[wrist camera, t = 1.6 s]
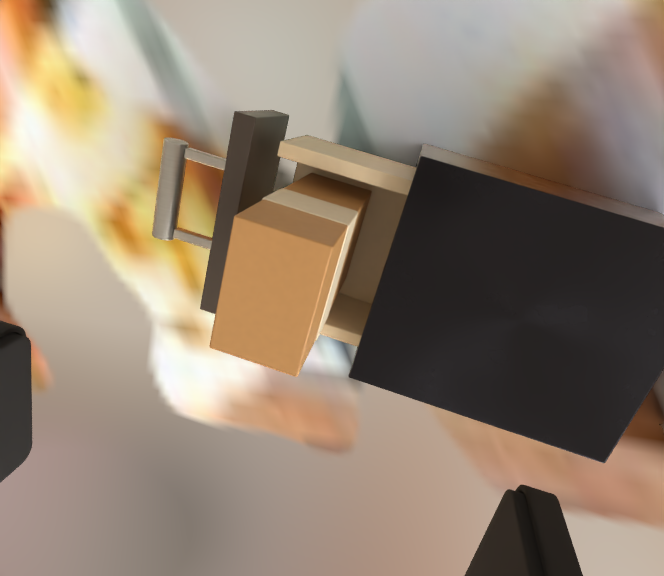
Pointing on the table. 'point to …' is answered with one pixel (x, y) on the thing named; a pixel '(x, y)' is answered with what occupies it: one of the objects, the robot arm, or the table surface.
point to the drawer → (258, 182)
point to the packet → (287, 270)
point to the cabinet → (519, 304)
